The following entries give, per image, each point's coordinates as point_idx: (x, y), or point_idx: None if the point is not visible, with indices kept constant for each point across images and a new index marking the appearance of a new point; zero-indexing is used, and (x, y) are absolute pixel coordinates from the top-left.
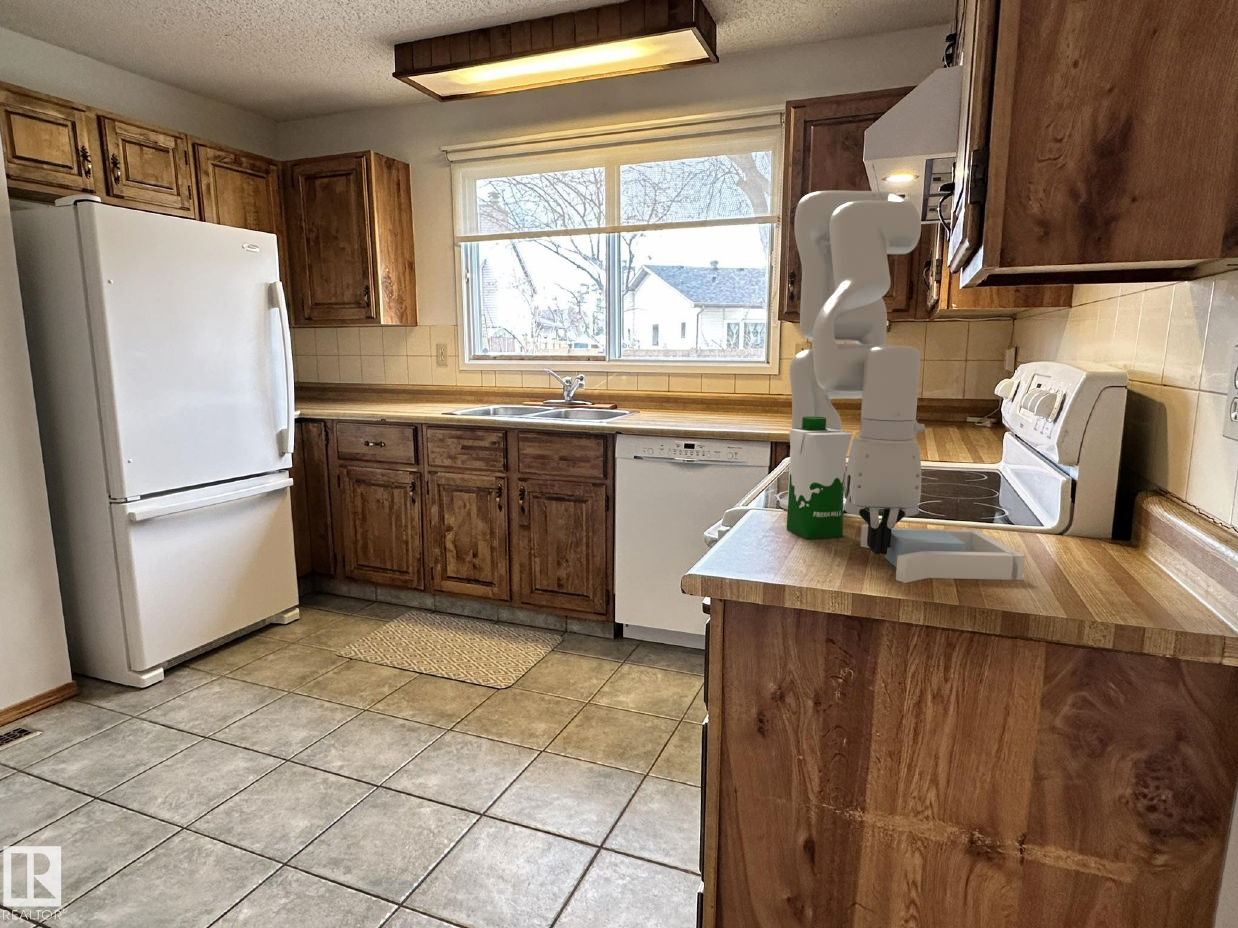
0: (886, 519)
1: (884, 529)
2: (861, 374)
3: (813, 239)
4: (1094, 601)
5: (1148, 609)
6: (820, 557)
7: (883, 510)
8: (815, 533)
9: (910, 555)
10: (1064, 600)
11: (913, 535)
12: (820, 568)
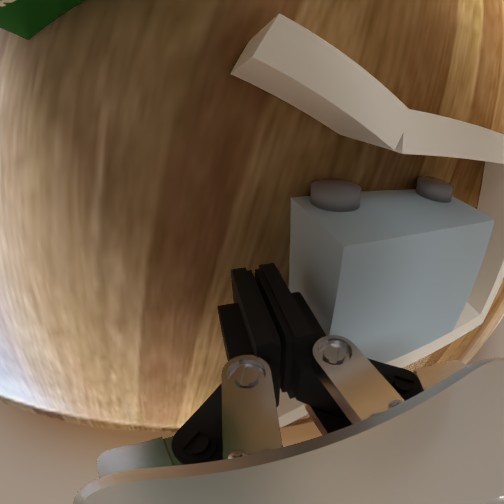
0: (322, 398)
1: (288, 391)
2: None
3: None
4: (457, 341)
5: (472, 340)
6: (63, 261)
7: (347, 400)
8: (47, 16)
9: (300, 411)
10: (437, 352)
11: (395, 309)
12: (84, 349)
